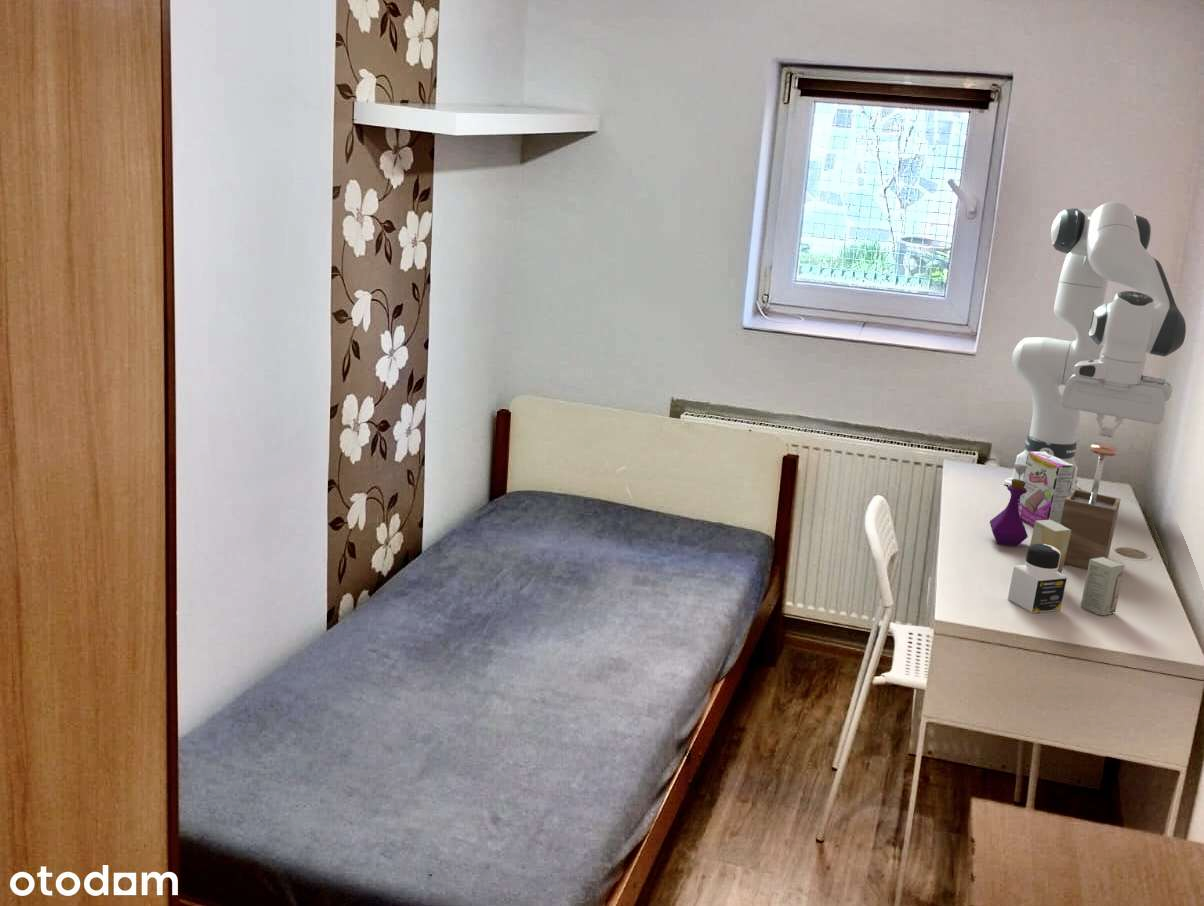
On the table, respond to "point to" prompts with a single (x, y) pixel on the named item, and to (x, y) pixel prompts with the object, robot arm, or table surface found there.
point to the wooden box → (1088, 528)
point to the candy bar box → (1045, 487)
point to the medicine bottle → (1038, 580)
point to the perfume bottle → (1011, 515)
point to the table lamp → (1098, 473)
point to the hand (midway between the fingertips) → (1106, 436)
